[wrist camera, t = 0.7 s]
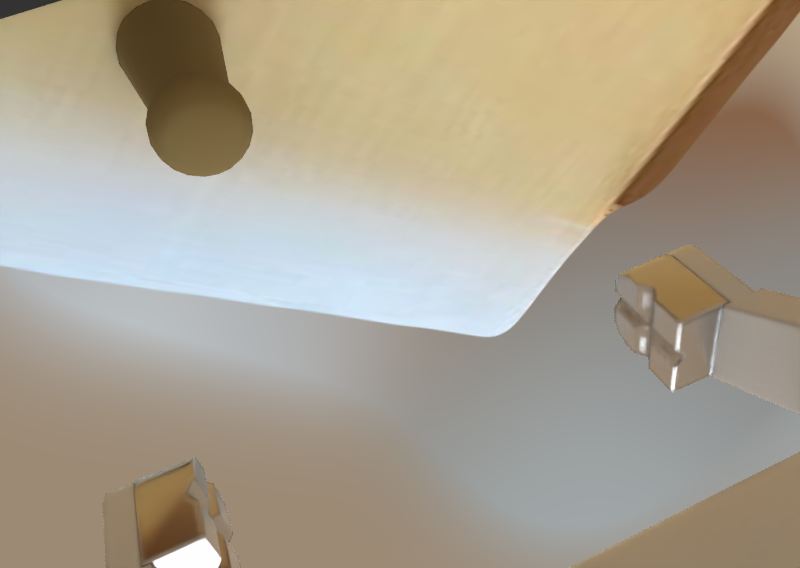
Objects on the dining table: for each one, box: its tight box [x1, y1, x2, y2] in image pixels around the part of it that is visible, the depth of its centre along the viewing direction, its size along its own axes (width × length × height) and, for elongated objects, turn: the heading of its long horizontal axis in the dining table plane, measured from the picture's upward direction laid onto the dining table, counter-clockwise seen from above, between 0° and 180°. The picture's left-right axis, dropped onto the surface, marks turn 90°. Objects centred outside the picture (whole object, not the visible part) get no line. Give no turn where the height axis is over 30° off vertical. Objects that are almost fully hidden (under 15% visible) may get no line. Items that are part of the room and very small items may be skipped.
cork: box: [116, 0, 253, 176], centre depth 38 cm, size 6×6×11 cm
